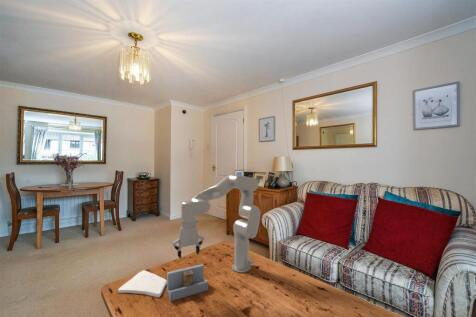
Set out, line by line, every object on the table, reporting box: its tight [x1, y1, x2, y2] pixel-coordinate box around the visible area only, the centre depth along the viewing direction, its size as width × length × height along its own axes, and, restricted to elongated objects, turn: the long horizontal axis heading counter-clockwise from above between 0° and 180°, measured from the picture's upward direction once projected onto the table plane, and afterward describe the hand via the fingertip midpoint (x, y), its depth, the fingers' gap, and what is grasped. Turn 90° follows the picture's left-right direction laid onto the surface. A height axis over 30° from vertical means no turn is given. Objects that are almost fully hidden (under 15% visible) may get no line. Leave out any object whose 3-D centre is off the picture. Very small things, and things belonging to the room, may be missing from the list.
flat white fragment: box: [117, 269, 167, 298], centre depth 119 cm, size 21×4×25 cm
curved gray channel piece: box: [166, 264, 209, 302], centre depth 114 cm, size 20×10×10 cm, turn 118°
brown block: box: [183, 269, 193, 287], centre depth 113 cm, size 4×6×8 cm
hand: (188, 255), depth 114 cm, fingers open, 9 cm apart
